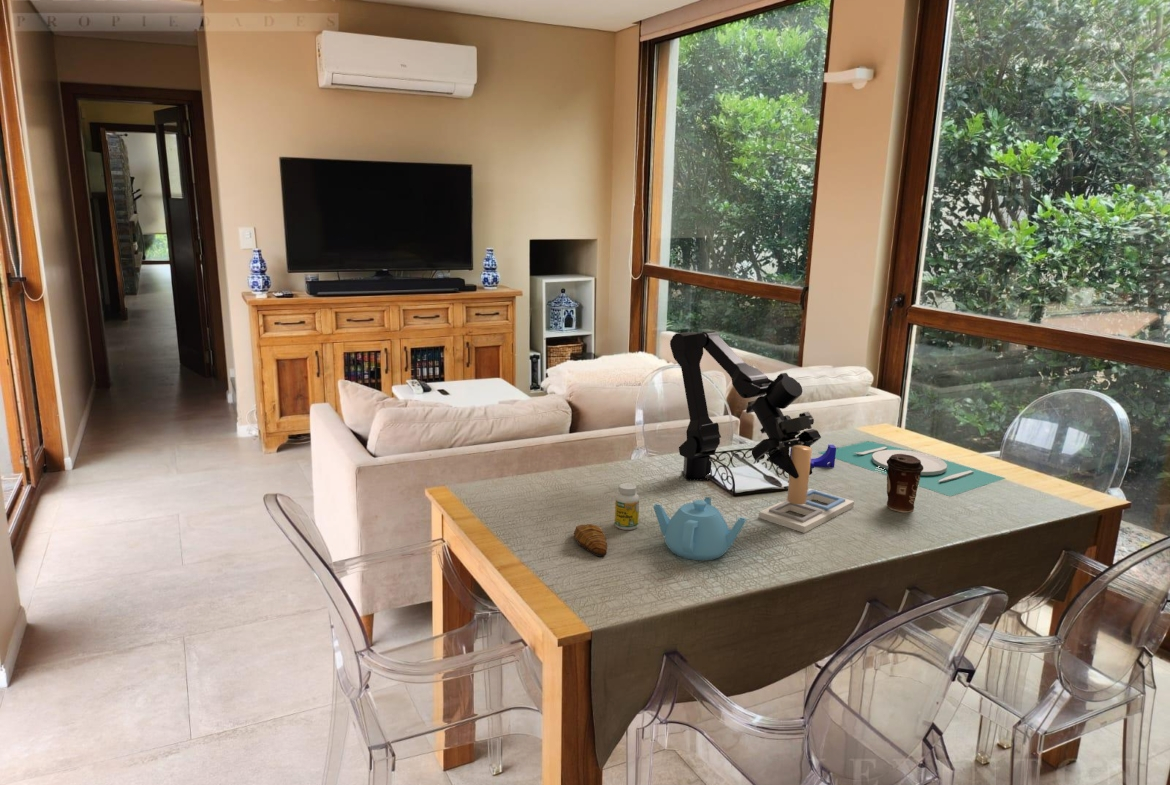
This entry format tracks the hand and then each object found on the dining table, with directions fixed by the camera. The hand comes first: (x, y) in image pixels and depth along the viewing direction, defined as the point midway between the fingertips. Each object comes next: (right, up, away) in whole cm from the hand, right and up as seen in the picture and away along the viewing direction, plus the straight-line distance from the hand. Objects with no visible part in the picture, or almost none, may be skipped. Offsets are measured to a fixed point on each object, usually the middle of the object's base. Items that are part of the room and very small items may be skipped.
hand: (804, 476), depth 189 cm
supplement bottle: (-41, -11, -4) cm, 43 cm away
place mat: (+43, -3, +46) cm, 63 cm away
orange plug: (-1, -6, +3) cm, 7 cm away
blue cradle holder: (+14, -2, +43) cm, 45 cm away
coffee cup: (+27, -9, +13) cm, 31 cm away
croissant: (-50, -14, -15) cm, 54 cm away
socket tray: (+3, -10, +8) cm, 13 cm away
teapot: (-27, -14, -15) cm, 34 cm away
